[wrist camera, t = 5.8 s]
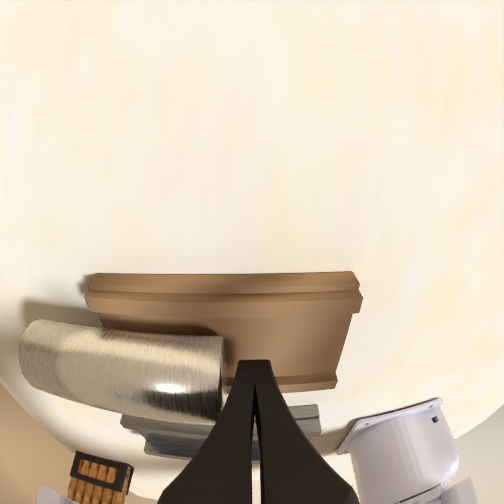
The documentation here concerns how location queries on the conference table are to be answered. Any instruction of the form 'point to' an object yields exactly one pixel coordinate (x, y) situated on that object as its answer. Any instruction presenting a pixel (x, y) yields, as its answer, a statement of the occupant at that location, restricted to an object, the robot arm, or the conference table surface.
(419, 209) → the conference table surface
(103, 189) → the conference table surface
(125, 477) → the ammunition clip
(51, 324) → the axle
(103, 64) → the conference table surface
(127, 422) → the cradle
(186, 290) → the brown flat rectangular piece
